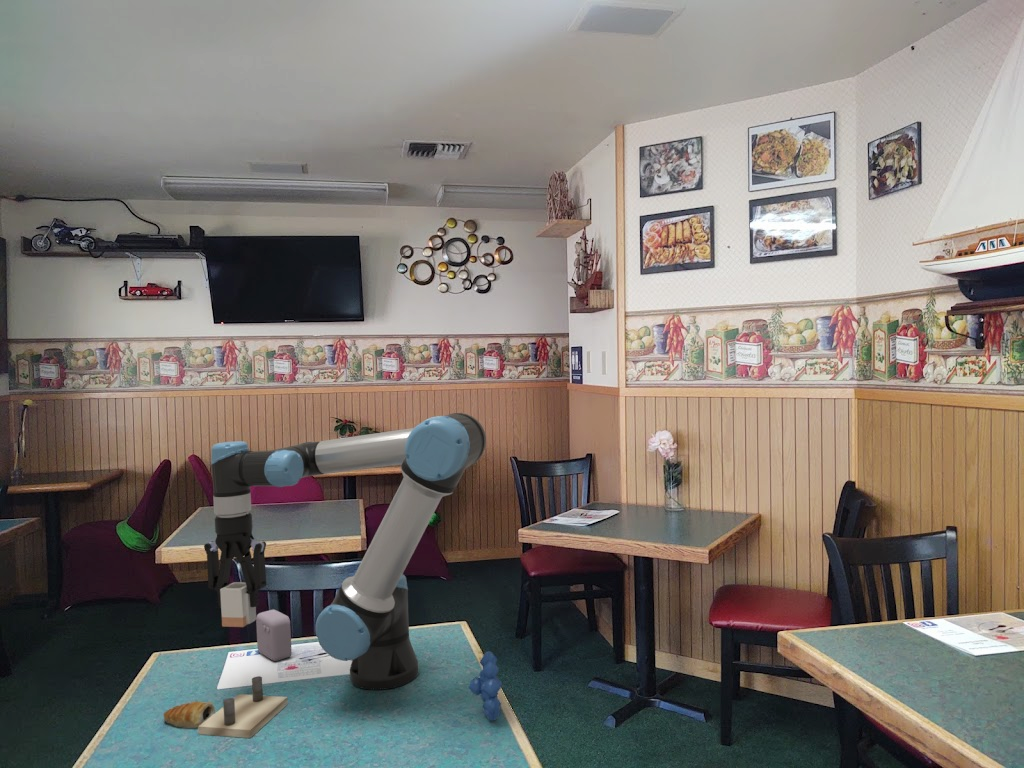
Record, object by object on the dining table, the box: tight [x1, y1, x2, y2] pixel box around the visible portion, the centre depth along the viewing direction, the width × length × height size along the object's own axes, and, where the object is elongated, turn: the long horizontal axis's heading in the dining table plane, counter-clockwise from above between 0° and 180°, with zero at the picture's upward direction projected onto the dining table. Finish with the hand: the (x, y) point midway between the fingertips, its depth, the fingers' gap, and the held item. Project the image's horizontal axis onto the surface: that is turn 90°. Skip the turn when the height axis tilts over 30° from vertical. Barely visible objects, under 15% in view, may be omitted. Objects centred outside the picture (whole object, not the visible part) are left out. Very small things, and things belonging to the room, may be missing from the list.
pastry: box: [163, 700, 216, 729], centre depth 148 cm, size 9×7×4 cm
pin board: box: [197, 675, 288, 739], centre depth 148 cm, size 11×14×6 cm
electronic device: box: [255, 608, 292, 662], centre depth 181 cm, size 10×5×10 cm, turn 43°
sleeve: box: [220, 581, 249, 628], centre depth 160 cm, size 5×5×8 cm
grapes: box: [468, 650, 503, 722], centre depth 146 cm, size 12×7×12 cm, turn 6°
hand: (239, 621), depth 160 cm, fingers closed on sleeve, 5 cm apart
